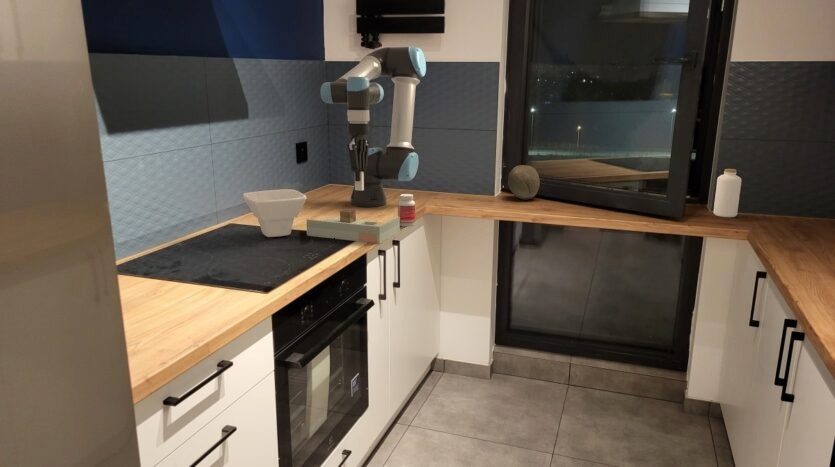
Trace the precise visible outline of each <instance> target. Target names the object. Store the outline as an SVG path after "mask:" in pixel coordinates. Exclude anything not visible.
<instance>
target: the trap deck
mask: <svg viewBox="0 0 835 467" xmlns="http://www.w3.org/2000/svg"><path fill="white" fill-rule="evenodd" d="M400 228H401V226H400V217H398V216H395V217H393V218H391V219H388V221H385V222H384V221H374V220H373V221H372V220H361V219H356V221H355V222H352V223H343V222H340V217H331V216H330V217H328V218H325V219H312V218H307V219H306V236H308V237H318V238H327V239H334V238H335V239H336V240H345V241H355V242H360V243H361V242H364V243H372V244H382V243H383V242H385V241H387V240H388V239H390V238H392V237H394V236H396V235H397V234H399V233H400V232H401V231H400Z"/></svg>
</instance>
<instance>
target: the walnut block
mask: <svg viewBox="0 0 835 467" xmlns="http://www.w3.org/2000/svg"><path fill="white" fill-rule="evenodd" d="M356 212H357V210H356V209H351V208H344V209H341V210H340V211H339V218H340V222H343V223H352V222H355V221H356V220H357V213H356Z"/></svg>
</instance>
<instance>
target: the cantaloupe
mask: <svg viewBox="0 0 835 467" xmlns="http://www.w3.org/2000/svg"><path fill="white" fill-rule="evenodd" d="M540 184H541V180H540V176H539V173H538V171H537V170H536V168H534V166H532V165H523V164H520V165H516V166H515V167H513V168H512V169H511V171H510V172H509V174H508V179H507V186H508V188H509V191H511V193H512V194H513V195H514V196H515V197H517V198H519V199H520V200H523V201H529V200H530V199H532V198H534V197H535V196H536V195H537V193H538V191H539V189H540Z"/></svg>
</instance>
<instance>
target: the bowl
mask: <svg viewBox="0 0 835 467" xmlns="http://www.w3.org/2000/svg"><path fill="white" fill-rule="evenodd" d="M242 198H243V199H244V201H245V203H246V204H247V206H248V208H249V210H250V211H251V213H252V215H253V216H254V217H255V218H256V219H257V221H258V223H259V227H260V230H261V232H262V233H261V234H263V235H264V236H265V237H267V238H274V237H283V236H285V237H286V236H289V235H291V233H292V228H293V225H294V220H295V218H297V217H298V216H299V214H300V213H301V211H302V209H303V207H304V205H305V202H306V201H307V195H306V194H304V193H302V192H300V191H299V190H296V189H292V188H291V189H290V188H287V189H286V188H285V189H283V188H282V189H272V190H271V189H268V190H267V189H266V190H260V191H259V190H258V191H250V192H249V191H248V192H243V194H242Z"/></svg>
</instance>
